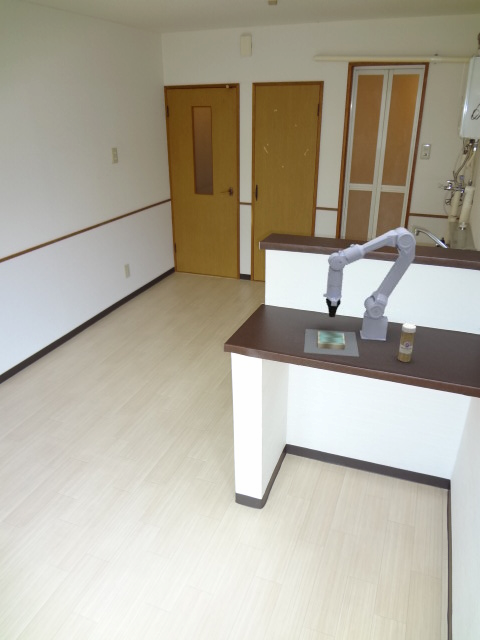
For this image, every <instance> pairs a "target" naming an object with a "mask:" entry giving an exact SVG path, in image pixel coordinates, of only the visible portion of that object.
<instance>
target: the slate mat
mask: <svg viewBox="0 0 480 640" xmlns="http://www.w3.org/2000/svg"><path fill="white" fill-rule="evenodd" d="M318 331H320V332H335V333H344V340H345V350H341V349H327V348H318ZM303 348H304V349H303V353H306V354H316V355H317V354H319V355H321V354H322V355H333V356H334V355H335V356H345V357H346V356H347V357H357V358H358V357H360V354H359V349H358V348H359V347H358V342H357V336H356V332H355V331H341V330H327V329H312V328H311V329H310V328H306V329H305V335H304V347H303Z"/></svg>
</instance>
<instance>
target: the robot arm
mask: <svg viewBox="0 0 480 640" xmlns="http://www.w3.org/2000/svg"><path fill="white" fill-rule="evenodd" d="M416 245H417V241H416V239H415V236H414V234H413V233H412V232H410V231H408V229H407V228H405V227H404V226H403V227H400V226H399V227H396V228H395V229H392V230H391V229H390V230H389V231H387V232H385V233H383V234H382V235H380V236H377V237H375V238H373V239H372V240H369V241H368V242H365V243H363V244H362V245H360V244H357V243H356V244H354V243H352V244H350V245H349V246H350V247H347V248H345V249H343V250H338V252H333V253H331V254H330V255H329V257H328V259H327V263H328V265H329V266H328V271H327V282H326V283H327V284H326V293H323V294H322V295H323V298H325V303H326V305H327V310H328V317H329V318H335V317H336V315H337V312H338V308H339V307H340V305H341V303H342V301H341V298H342V290H343V289H342V288H343V280H344V277H343V276H344V269H345V267H346V266H348V265H351V264H352V263H355V262H357V261H359V260H362V259H364V257H365V254H368V253H370V252H373V251H374V250H375V251H376V250H378V249H380V248H383V247H385V246H386V247H392V248H396V249H397V251H398V257H397V258H396V260H395V261H394V263H393V265H392V266H391V267H390V269H389V271H388V272H387V273H386V275H385V277H384V278H383V280H382V282H381V283H380V284H379V286H378V288H377V290H375V291H373V292H372V293H371V294H370V296H368V297H366V298H365V300H364V302H363V305H364V308H365V310H364V312H363V319H362V325H361V329H360V330H359V333H360V334H359V335H360V339H362V340H374V341H382V342H383V341H387V333H388V325H389V324H388V323H389V320H388V319H389V318H388V316H386V315H384V314H385V309H386V307H387V305H388V302H389V301H388V300H389V298H390V296H391V295H392V293H393V291H394V290H395V288H396V287H397V285H398V284H399V282H400V281H401V280H402V278H403V276H404V275H405V274H406V272H407V270H409V267H410V266H411V264H412V263H413V261H414V260H415V257H416Z"/></svg>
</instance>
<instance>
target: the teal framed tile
mask: <svg viewBox="0 0 480 640" xmlns="http://www.w3.org/2000/svg"><path fill="white" fill-rule="evenodd" d="M318 348H327V349H341V350H345V340H344V333H335V332H320V331H318Z"/></svg>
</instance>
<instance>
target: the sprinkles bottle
mask: <svg viewBox="0 0 480 640" xmlns="http://www.w3.org/2000/svg"><path fill="white" fill-rule="evenodd" d="M416 330H417V326H416V325H415V324H413V323H403V324H402V327H401V336H400V341H399V348H398V356H397V360H398V361H400V362H403V363H410V362H411V358H412V352H413V347H414V340H415V335H416V334H415V333H416Z"/></svg>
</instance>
